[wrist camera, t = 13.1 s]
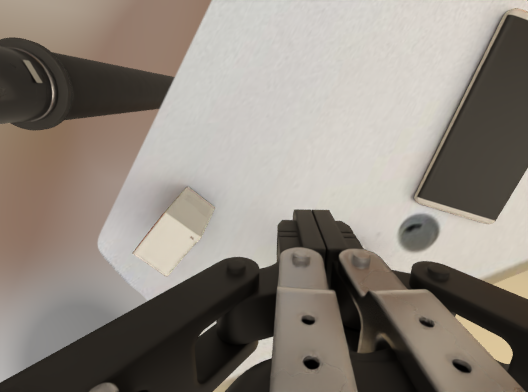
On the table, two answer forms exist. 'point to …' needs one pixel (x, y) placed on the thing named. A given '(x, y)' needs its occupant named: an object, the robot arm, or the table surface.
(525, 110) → the smartphone
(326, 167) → the table surface
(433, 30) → the table surface
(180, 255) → the small box
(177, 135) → the table surface
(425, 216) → the table surface
